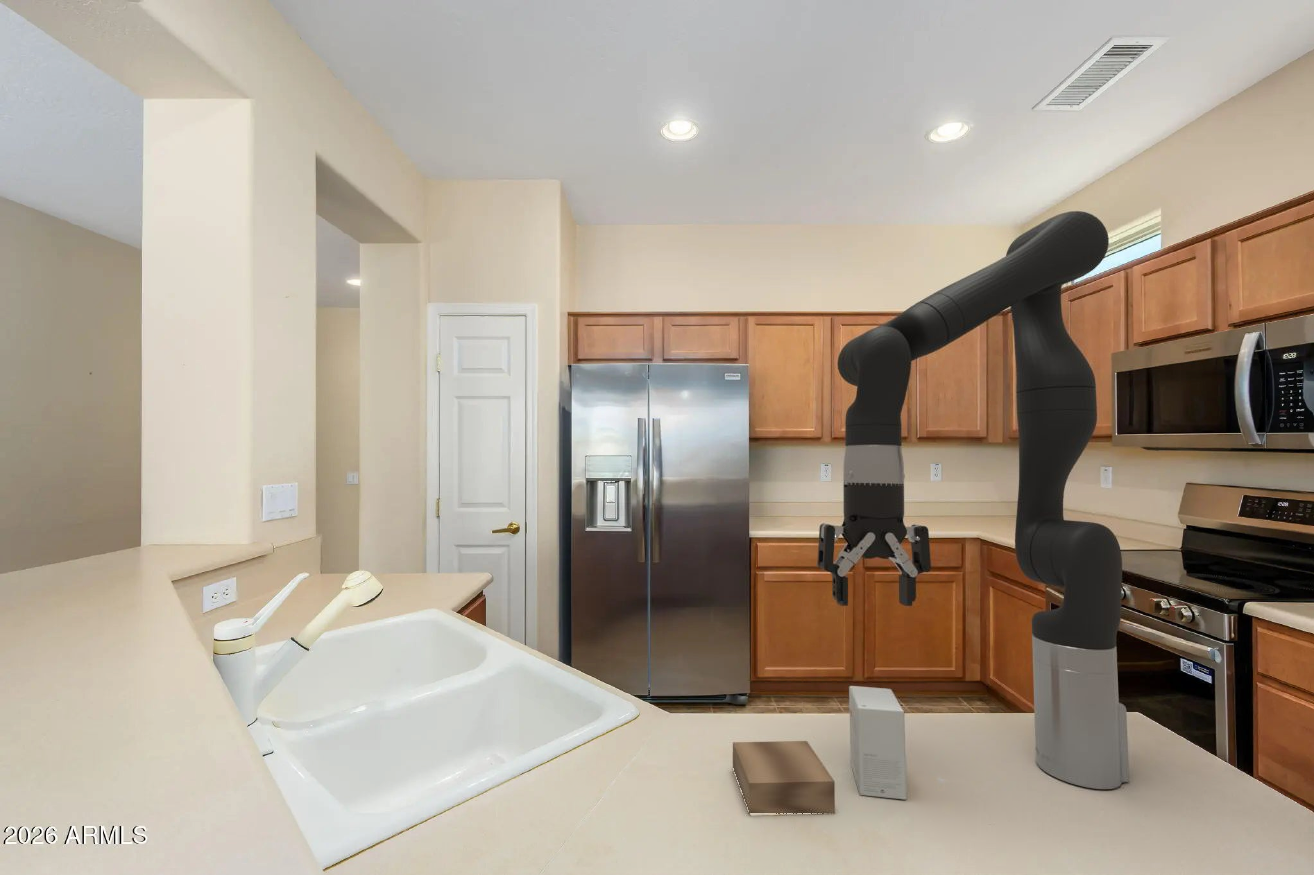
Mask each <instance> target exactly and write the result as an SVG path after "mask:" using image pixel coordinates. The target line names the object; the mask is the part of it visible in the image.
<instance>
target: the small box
mask: <svg viewBox="0 0 1314 875" xmlns="http://www.w3.org/2000/svg"><path fill="white" fill-rule="evenodd" d="M848 691H849V692H848V694H849V695H848V696H849V697H848V701H849V702H848V703H849V705H848V706H849V744H850V745H849V746H850V748H849V753H850V757H849V759H850V766H851V769H852V773H853V777H854V780H855V783H856V787H857V791H858V794H859V795H860V796H868V797H875V798H885V799H887V798H888V799H897V800H898V799H899V800H907V769H906V768H907V766H906V762H907V761H906V759H907V758H906V730H905V729H906V728H905V711H904V710H903V707H902V706H901V704H900V702H899V701H898V698H897V697H896V696H895V693H894V692H893V690H892V689H891V688H885V687H883V688H882V687H881V688H880V687H869V686H857V685H850V686H848Z"/></svg>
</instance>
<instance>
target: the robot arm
mask: <svg viewBox="0 0 1314 875" xmlns="http://www.w3.org/2000/svg"><path fill="white" fill-rule="evenodd" d="M1109 240H1110V239H1109V234H1108V230H1107V228H1106V227H1105V225H1104V223H1103V222H1102V221H1101V220H1100V219H1099V218H1098V217H1097V216H1095V215H1094V214H1092V213H1089V212H1086V211H1082V210H1081V211H1079V210H1076V211H1075V210H1073V211H1070V210H1069V211H1066V212H1063V213H1060V214H1056V215H1054V216H1052V217H1050V218H1048V219H1046V220H1045V221H1043V222H1041V223H1039V224H1038V225H1035V226H1034V227H1032V228H1030V229H1028V230H1027V231H1026V232H1023V233H1021V235H1019V236H1017V237H1016V238H1015V239H1014V240H1013V241H1012V242H1011V244H1010V245H1009V247H1008V249H1007V251H1006V254H1005V256H1004V257H1001V258H1000V259H999V260H997V261H995V262H993V263H991V264H988V265H987V266H985V267H983V268H980V269H979V270H976V271H975V272H973V273H972V274H969V275H967V276H965V277H963V278H961V279H959V280H957V281H955V282H953V283H951V284H948V285H947V286H945V287H943V288H941V289H939V290H938V291H936V292H934V293H931V294H930V295H929V296H926V297H925V298H922V300H919V301H918V302H916V303H914V304H913V305H911V306H909V307H908V308H907V309H905V310H904V311H902V312H901V313H900V314H898V315H897V316H896V317H894V318H892V319H890V320H889V321H886V322H884V323H882V324H880V325H878V326H876V327H874V328H871V329H869V330H867V331H866V332H864V333H862V334H860V335H858V336H857V337H854V338H852V339H851V340H849V341H848V342H847V343H846V344H844V346H843V347H842V349H841V350H840V352H839V355H838V358H837V370H838V373H839V375H840V376H841V378H842V379H843V380H844V382H846V383H847V384H850V385H851V386H855V387H856V394H855V399H854V401H853V402H852V404H850V405H849V407H847V410H846V413H845V419H844V420H845V423H844V424H845V428H844V429H845V433H844V436H845V439H844V440H845V442H844V445H845V447H844V448H845V449H844V456H843V474H842V475H843V476H842V477H843V479H842V480H843V483H842V484H843V489H842V491H843V522H842V523H841V525H836V524H835V525H832V524H829V523H822V524H820V525H819V529H818V530H819V532H818V533H819V534H818V548H817V563H816V564H817V568H819V569H821V570H823V571H826V572H829V573H830V574H831V577H832V579H831V581H832V582H831V583H832V585H831V588H832V589H831V590H832V594H831V595H832V598H833V599H834V600H835V601H836V604H837V605H839V606H841V607H848V605H849V577H847V576H846V575H847V574H848V573H849V571H850V570H851V568H852V567H853V566H854V565H855V564H857V563H858V561H859V560H860V559H861V558H863V559H865V560H866V559H867V560H870V559H871V560H872V559H874V558H879V559H883V560H890V561H891V562H893V563H894V565H895V566H896V569H898V571H899V572H900V573H901V574H898V602H899V604H900V605H903V607H904V606H905V607H912V606H913V602H915V601H916V599H917V577H918V575H921V574H923V573H929V572H930V571H931V569H932V561H931V548H930V534H929V528H928V527H927V526H925V525H920V524H911V525H910V526H906V525H905V522H904V516H905V476H906V475H905V465H904V464H905V462H904V456H903V447H902V445H903V444H902V441H903V440H902V439H903V438H902V435H903V434H902V411H903V406H904V404H905V400H906V396H907V390H908V386H909V382H910V377H911V370H912V362H913V361H915V360H917V359H919V358H922V357H924V356H927V355H930V354H932V353H935V352H937V351H939V350H940V349H942V348H944V347H946V346H948V345H950V344H951V343H953V342H954V341H956V340H958V339H960V338H961V337H963V336H965V335H966V334H968V333H970V332H972V331H973V330H975V329H976V328H977V327H980V326H981V325H983V324H984V323H986V322H987V321H989V320H991V319H993V318H994V317H995V316H997V315H999V314H1000V313H1002V312H1004V311H1006V310H1007V309H1008V308H1010V312H1011V321H1012V327H1013V328H1012V329H1013V338H1014V340H1013V342H1014V345H1013V346H1014V354H1015V355H1014V356H1015V357H1014V359H1015V374H1016V377H1015V378H1016V379H1015V380H1016V386H1015V389H1016V390H1015V393H1016V395H1015V396H1016V417H1017V418H1016V419H1017V428H1018V432H1017V434H1018V490H1017V491H1018V492H1017V505H1016V518H1015V532H1014V548H1015V550H1014V552H1015V558H1016V561H1017V563H1018V564H1017V565H1018V567H1019V569H1020V570H1021V573H1023V575H1024V576H1025V577H1027V578H1028V579H1030V580H1031V581H1032V582H1036V583H1040V584H1043V585H1048V586H1055V587H1059V588H1063V599H1062V604H1061V605H1060V607H1057V608H1055V609H1047V610H1041V611H1040V610H1039V611H1037V612H1035V613H1034V614H1033V615H1032V617H1031V639H1032V640H1031V641H1032V642H1031V643H1032V668H1033V669H1032V673H1033V674H1032V675H1033V703H1034V705H1033V708H1034V741H1035V742H1034V743H1035V746H1034V747H1035V748H1034V749H1035V763H1036V764H1037V766H1038V767H1039V768H1040V769H1041V770H1042V771H1044V772H1046V773H1047V774H1049V775H1050V776H1052V777H1054V778H1056V779H1059V780H1061V781H1063V782H1066V783H1069V784H1072V785H1076V786H1079V787H1083V788H1088V789H1096V790H1111V789H1112V790H1113V789H1118V787H1120V786H1121V785H1122V783H1130V768H1129V767H1130V766H1129V745H1128V744H1129V742H1128V720H1127V718H1128V717H1127V708H1126V706H1125V705H1124V704H1123V703H1121V702H1119V681H1118V679H1119V678H1118V677H1119V676H1118V674H1119V673H1118V661H1117V660H1118V652H1117V633H1118V631H1119V627H1120V624H1121V620H1122V592H1123V590H1122V588H1123V557H1122V551H1121V546H1120V543H1119V540H1118V538H1117V536H1116V535H1115V534H1114V531H1112V530H1111V529H1110V528H1109V527H1107V526H1105V525H1104V524H1101V523H1098V522H1090V521H1082V520H1081V521H1080V520H1070V519H1068V520H1067V519H1064V497H1065V488H1066V484H1067V481H1068V478H1069V475H1070V474H1071V472H1072V470H1073V469H1074V467H1075V465H1076V464H1077V462H1078V461H1079V459H1080V457H1081V456H1082V454H1083V453H1084V451H1085V449H1086V447H1087V445H1088V444H1089V442H1090V441H1091V438H1092V437H1093V434H1094V432H1095V429H1096V426H1097V424H1098V407H1097V406H1098V405H1097V402H1098V401H1097V389H1096V388H1097V385H1096V384H1097V383H1096V377H1095V373H1094V370H1093V369H1092V366H1091V365H1090V363H1089V361H1088V360H1087V359H1086V357H1085V355H1084V354H1083V352H1082V351H1081V350H1080V349H1079V347H1078V346H1077V344H1076V342H1074V341H1073V339H1072V337H1071V335H1070V334H1069V332H1068V330H1067V329H1066V326H1065V323H1064V318H1063V312H1062V311H1063V310H1062V289H1063V288H1062V287H1063V285H1066V284H1069V283H1071V282H1073V281H1076V280H1078V279H1080V278H1083V277H1084V276H1087V274H1090V273H1091V272H1093V271H1094V270H1095V269H1096V268H1097V267H1098V266H1099V265H1100V264H1101V263H1102V261H1103V260H1104V259H1105V257H1106V254H1107V253H1108V249H1109V245H1110V242H1109ZM840 535H842V537H843V539H844V540H845V541H846V543H845V545H844V546H843V547H842V549H840V551H839V553H838V556H837V557H836V560H834V556H835V542H838V540H839V537H840ZM906 537H907V540H908V541H909V542H910V545H911V559H912V560H910V557H909V555H908V553H907V552H906V550H904V548H903V547H902V546H901V544H902V542H904V540H905V538H906Z"/></svg>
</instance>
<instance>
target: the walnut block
mask: <svg viewBox="0 0 1314 875" xmlns="http://www.w3.org/2000/svg"><path fill="white" fill-rule="evenodd" d="M733 768H734V772H735V774H736V777H737V780H738V782H739V785H740V788H741V790H742V793H743V796H744V799H745V802H746V804H747V807H748V810H749V813H776V814H777V813H778V814H780V813H783V814H784V813H786V814H787V813H793V814H794V813H796V814H797V813H802V814H803V813H811V814H812V813H817V814H816V815H819V814H818V813H822V814H821V815H825V814H824V813H828V814H827V815H835V814H836V812H835V811H836V809H835V808H836V800H835V797H836V795H835V794H836V793H835V791H836V790H835V789H836V788H835V786H836V785H835V780H834V779H833V776H832V775H831V774H830V772H829V771H828V770H827V768H826V766H825V765H824V764H823V761H821V759H820V758H819V757H818V755H817V754H816V752H815V751H814V749H813V747H812V746H811V745H810V743H809V742H808V741H807V740H792V741H791V740H790V741H787V740H786V741H785V740H782V741H779V740H778V741H734V742H732V769H733ZM749 813H748V814H749ZM829 813H831V814H829ZM832 813H833V814H832ZM834 813H835V814H834ZM812 815H813V814H812Z"/></svg>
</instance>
